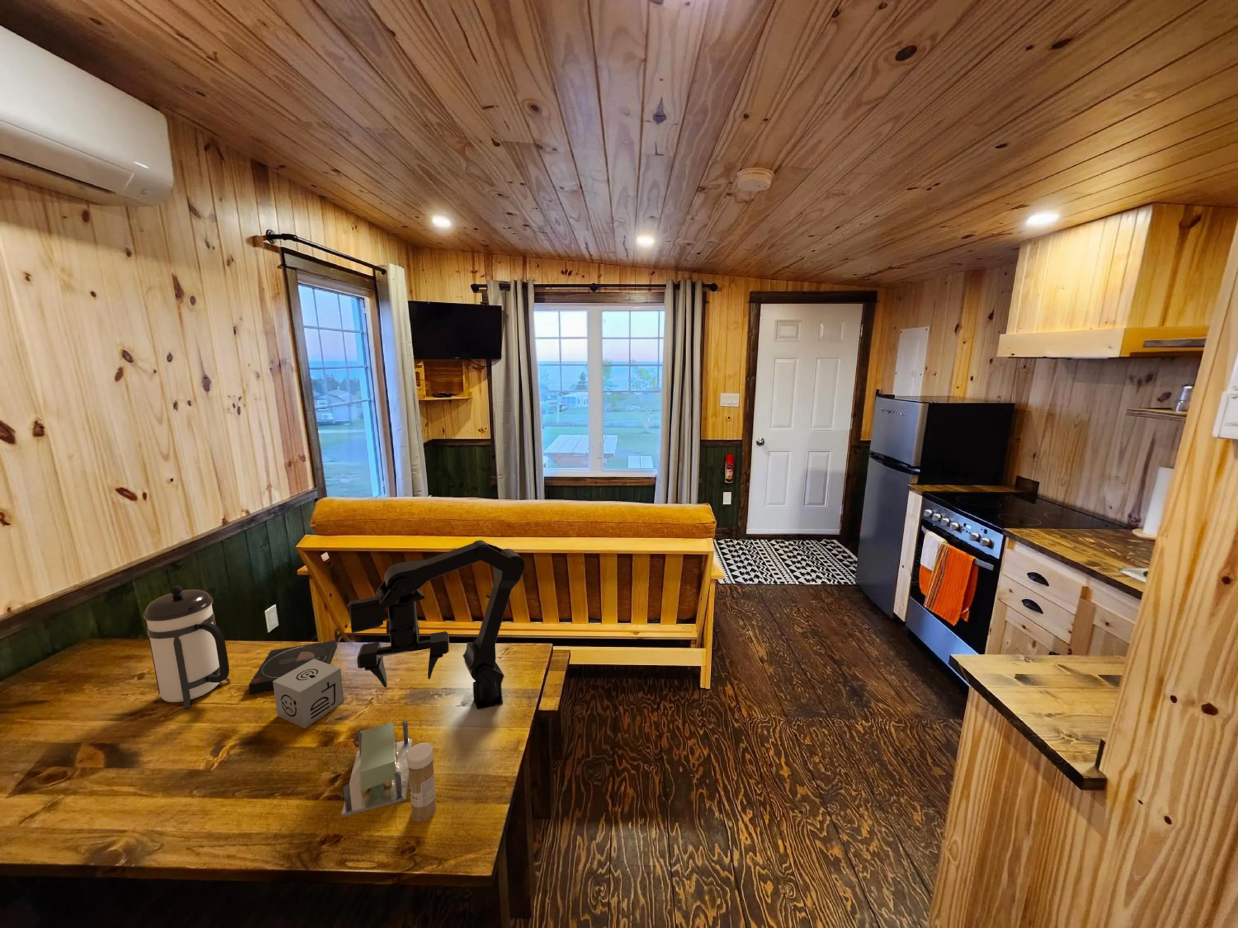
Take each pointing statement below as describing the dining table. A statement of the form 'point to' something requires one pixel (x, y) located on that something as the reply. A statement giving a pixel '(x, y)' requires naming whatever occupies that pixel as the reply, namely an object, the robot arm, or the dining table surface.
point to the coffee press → (186, 645)
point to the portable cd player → (289, 663)
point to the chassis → (383, 792)
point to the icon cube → (308, 692)
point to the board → (377, 756)
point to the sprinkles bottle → (421, 781)
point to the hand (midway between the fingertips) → (407, 682)
